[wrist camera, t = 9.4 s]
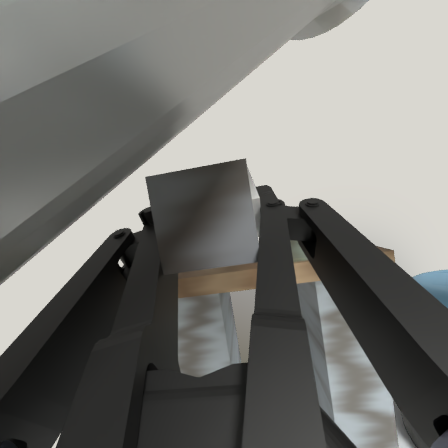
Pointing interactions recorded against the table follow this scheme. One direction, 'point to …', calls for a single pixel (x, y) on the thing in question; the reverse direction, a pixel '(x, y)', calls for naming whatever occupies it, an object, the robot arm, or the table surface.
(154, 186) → the dark grey bar
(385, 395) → the bench
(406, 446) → the table surface
